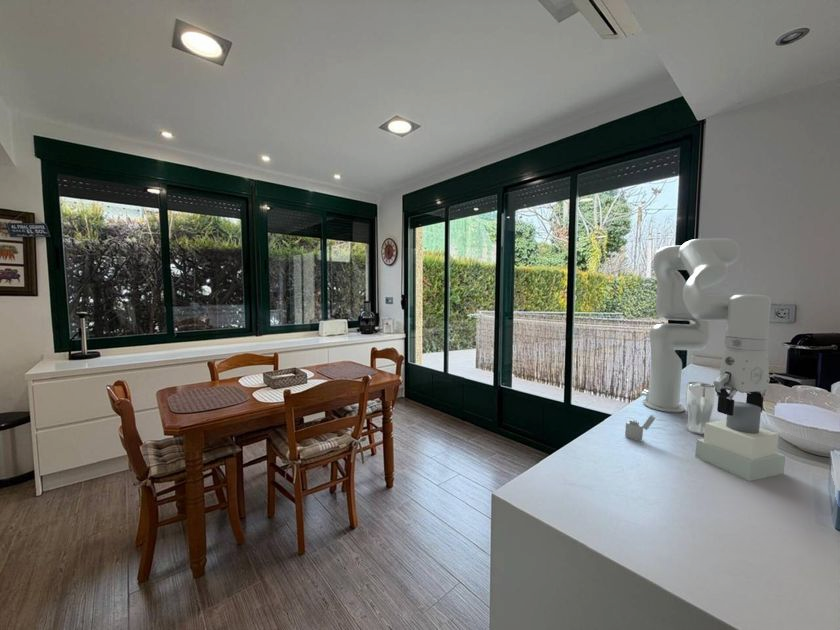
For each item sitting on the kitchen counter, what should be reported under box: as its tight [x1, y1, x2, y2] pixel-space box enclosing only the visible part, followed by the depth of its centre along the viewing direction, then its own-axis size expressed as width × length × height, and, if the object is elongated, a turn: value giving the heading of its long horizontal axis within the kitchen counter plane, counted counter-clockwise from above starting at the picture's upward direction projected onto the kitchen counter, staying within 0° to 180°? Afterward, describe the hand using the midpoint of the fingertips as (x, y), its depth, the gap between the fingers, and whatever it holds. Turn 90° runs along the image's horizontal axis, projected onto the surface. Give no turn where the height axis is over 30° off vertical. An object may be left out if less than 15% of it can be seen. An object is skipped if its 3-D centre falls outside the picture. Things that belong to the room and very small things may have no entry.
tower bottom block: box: [694, 437, 786, 482], centre depth 86 cm, size 12×12×5 cm
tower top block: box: [703, 418, 780, 460], centre depth 86 cm, size 10×10×5 cm
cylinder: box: [726, 400, 762, 434], centre depth 85 cm, size 6×6×6 cm
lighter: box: [624, 415, 657, 442], centre depth 100 cm, size 7×2×8 cm, turn 45°
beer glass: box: [685, 381, 716, 436], centre depth 106 cm, size 7×7×15 cm
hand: (739, 412), depth 85 cm, fingers open, 9 cm apart
